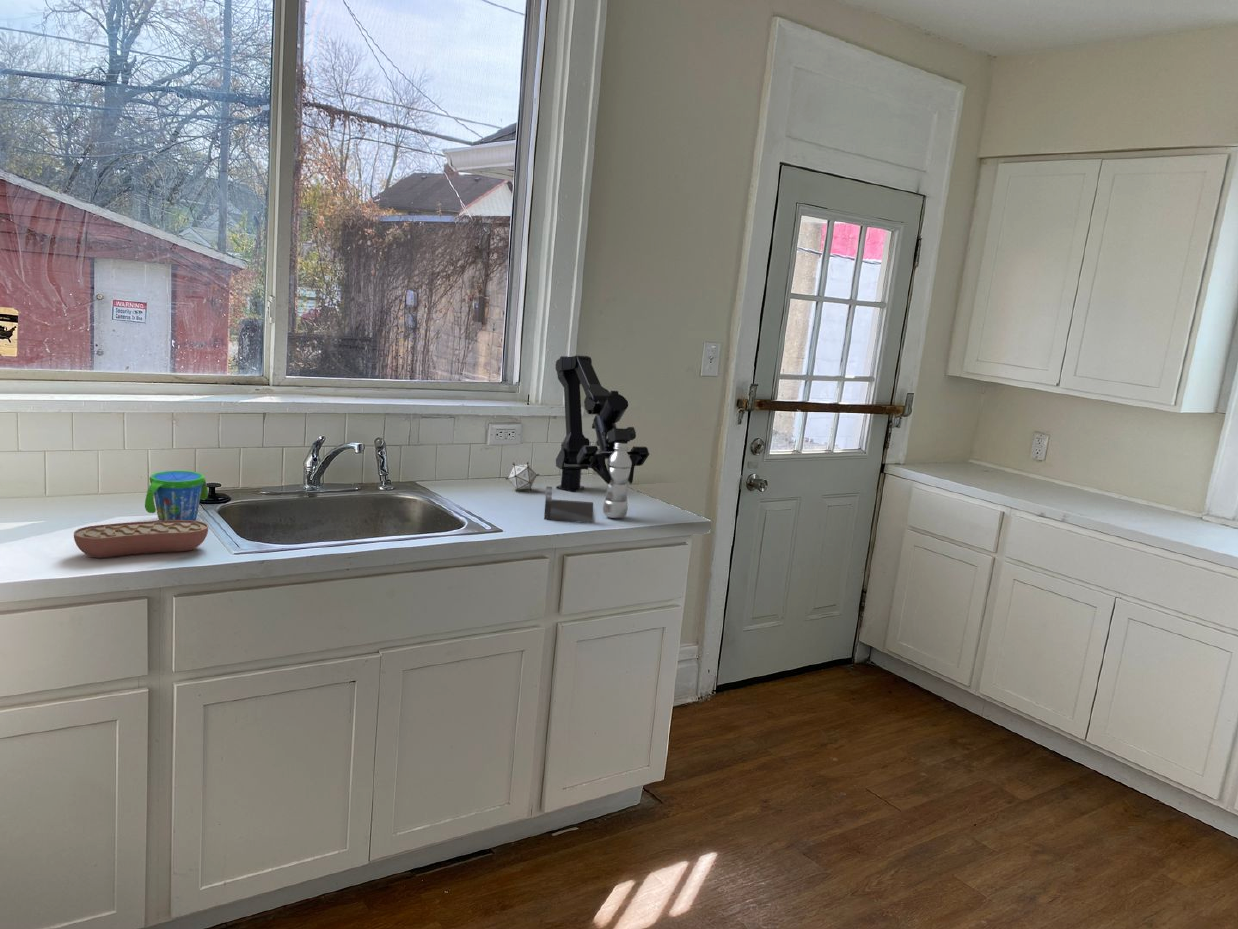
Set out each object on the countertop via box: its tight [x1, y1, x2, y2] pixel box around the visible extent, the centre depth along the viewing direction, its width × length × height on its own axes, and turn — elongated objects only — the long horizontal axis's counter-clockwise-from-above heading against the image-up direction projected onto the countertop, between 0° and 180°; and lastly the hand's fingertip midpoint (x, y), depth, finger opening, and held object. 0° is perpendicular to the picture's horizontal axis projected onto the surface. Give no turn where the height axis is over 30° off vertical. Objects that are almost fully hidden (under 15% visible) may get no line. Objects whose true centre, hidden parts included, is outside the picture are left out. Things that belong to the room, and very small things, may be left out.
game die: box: [504, 461, 540, 493], centre depth 254 cm, size 9×8×10 cm
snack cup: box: [144, 470, 209, 521], centre depth 195 cm, size 16×10×10 cm
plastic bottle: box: [602, 441, 632, 519], centre depth 232 cm, size 6×7×20 cm
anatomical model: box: [73, 520, 209, 559], centre depth 173 cm, size 23×10×5 cm, turn 124°
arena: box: [543, 486, 594, 524], centre depth 233 cm, size 16×12×5 cm
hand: (620, 483), depth 231 cm, fingers closed on plastic bottle, 6 cm apart
